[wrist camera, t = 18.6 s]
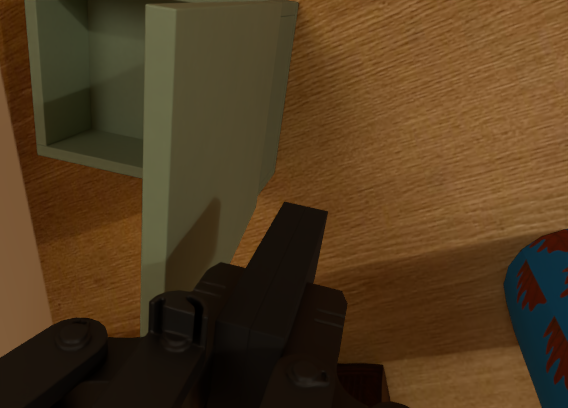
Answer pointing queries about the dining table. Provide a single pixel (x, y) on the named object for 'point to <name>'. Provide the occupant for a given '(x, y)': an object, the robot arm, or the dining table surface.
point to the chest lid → (201, 135)
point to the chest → (114, 81)
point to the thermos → (542, 314)
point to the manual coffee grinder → (364, 382)
